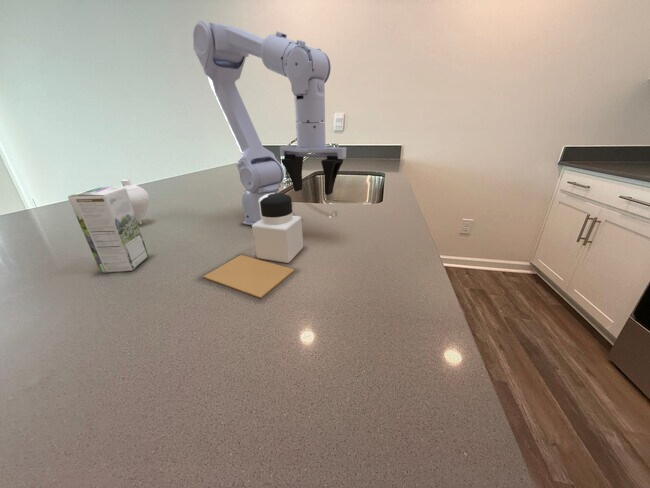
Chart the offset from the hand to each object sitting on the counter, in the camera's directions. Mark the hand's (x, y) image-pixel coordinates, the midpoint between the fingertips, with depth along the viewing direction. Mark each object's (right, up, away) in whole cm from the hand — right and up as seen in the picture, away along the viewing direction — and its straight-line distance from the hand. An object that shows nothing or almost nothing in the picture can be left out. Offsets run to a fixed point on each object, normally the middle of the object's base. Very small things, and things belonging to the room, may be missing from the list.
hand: (313, 192), depth 56 cm
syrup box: (-36, -15, -6) cm, 39 cm away
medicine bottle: (-6, -13, -3) cm, 15 cm away
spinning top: (-47, -6, +14) cm, 50 cm away
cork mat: (-11, -17, -10) cm, 22 cm away
